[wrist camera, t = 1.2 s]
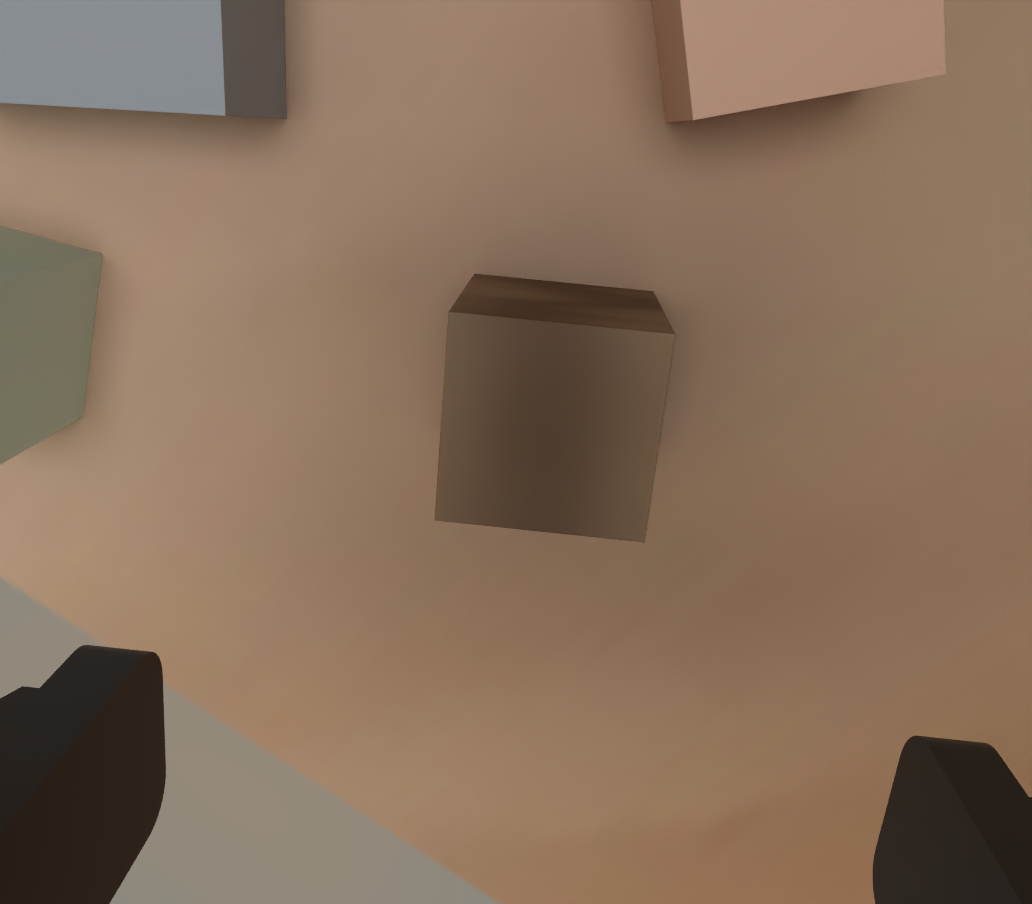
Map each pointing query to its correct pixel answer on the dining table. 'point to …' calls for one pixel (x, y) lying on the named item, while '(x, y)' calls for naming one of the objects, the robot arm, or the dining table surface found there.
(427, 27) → the dining table surface
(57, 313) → the pale green block
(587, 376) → the walnut block
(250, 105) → the grey base block
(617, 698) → the dining table surface
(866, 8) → the tan block
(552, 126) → the dining table surface
